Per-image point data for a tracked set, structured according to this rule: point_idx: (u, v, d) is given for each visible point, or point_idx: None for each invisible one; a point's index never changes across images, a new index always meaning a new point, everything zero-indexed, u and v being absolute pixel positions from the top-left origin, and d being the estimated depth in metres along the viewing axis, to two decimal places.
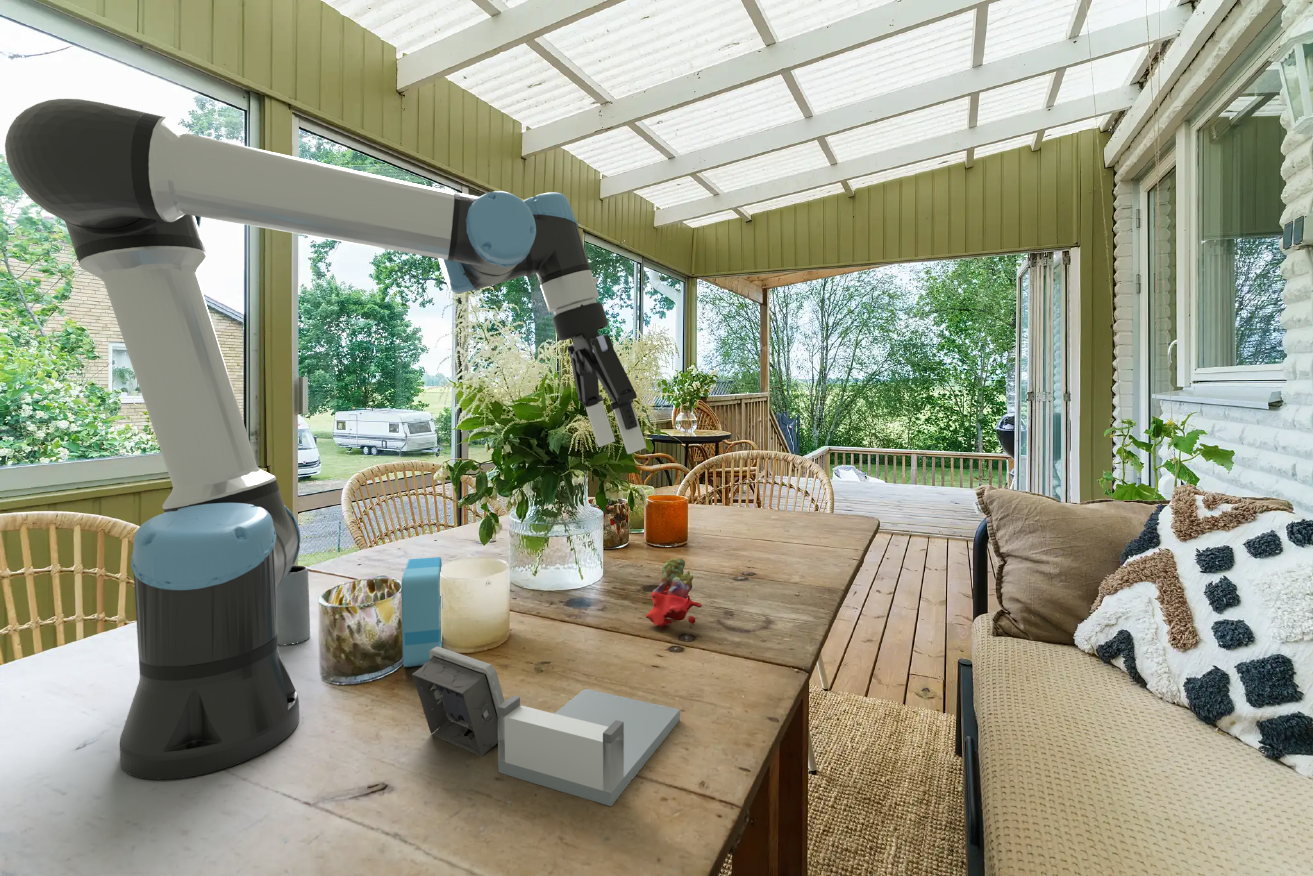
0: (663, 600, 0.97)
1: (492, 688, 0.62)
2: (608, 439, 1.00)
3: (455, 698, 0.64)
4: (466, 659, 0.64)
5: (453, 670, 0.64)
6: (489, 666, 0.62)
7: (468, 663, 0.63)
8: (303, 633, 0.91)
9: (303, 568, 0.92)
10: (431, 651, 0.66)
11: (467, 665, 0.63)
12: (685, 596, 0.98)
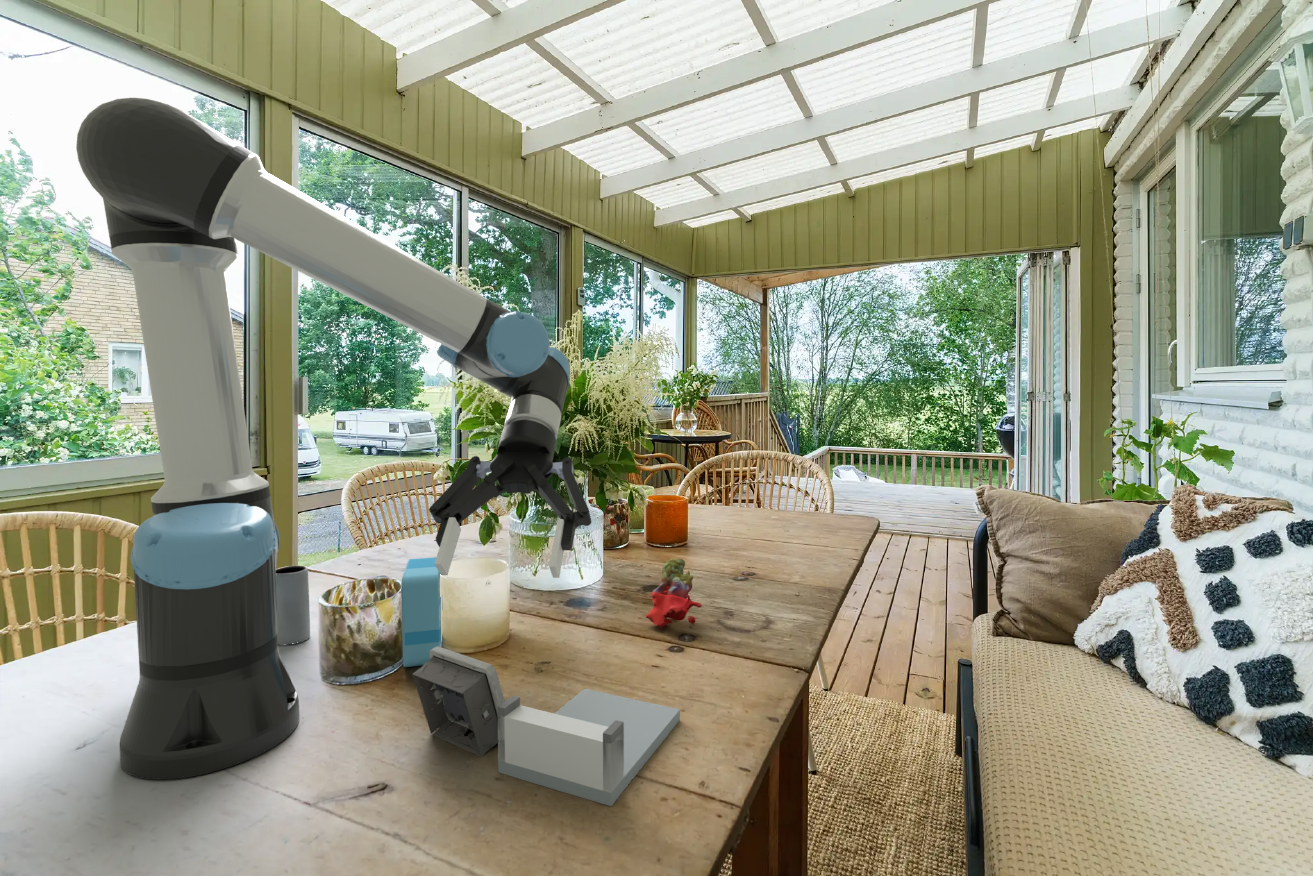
0: (663, 600, 0.97)
1: (492, 688, 0.62)
2: (446, 566, 0.76)
3: (455, 698, 0.64)
4: (466, 659, 0.64)
5: (453, 670, 0.64)
6: (489, 666, 0.62)
7: (468, 663, 0.63)
8: (303, 633, 0.91)
9: (303, 568, 0.92)
10: (431, 651, 0.66)
11: (467, 665, 0.63)
12: (685, 596, 0.98)
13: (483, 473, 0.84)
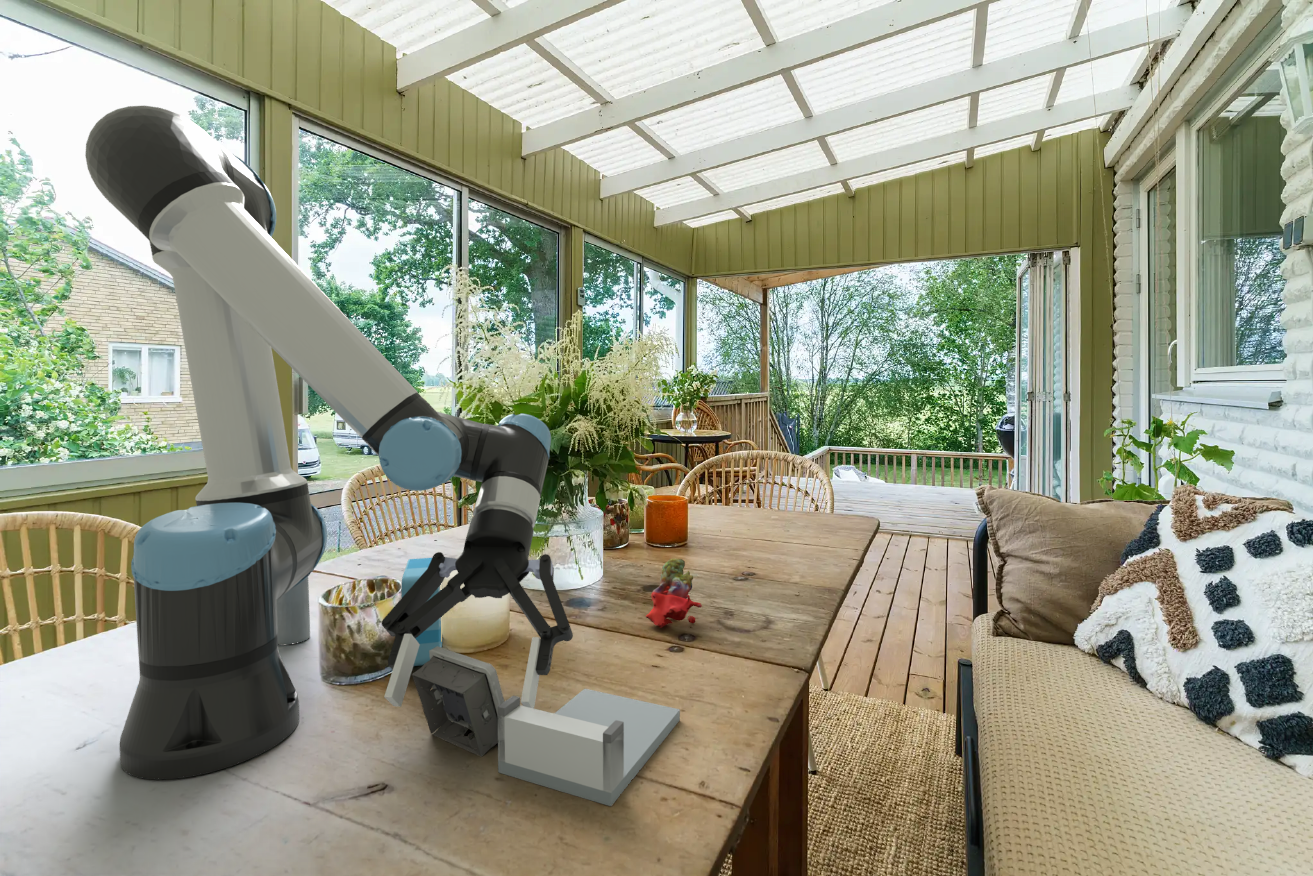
0: (663, 600, 0.97)
1: (492, 688, 0.62)
2: (399, 696, 0.64)
3: (455, 698, 0.64)
4: (466, 659, 0.64)
5: (453, 670, 0.64)
6: (489, 666, 0.62)
7: (468, 663, 0.63)
8: (303, 633, 0.91)
9: None
10: (431, 651, 0.66)
11: (467, 665, 0.63)
12: (685, 596, 0.98)
13: (447, 572, 0.73)
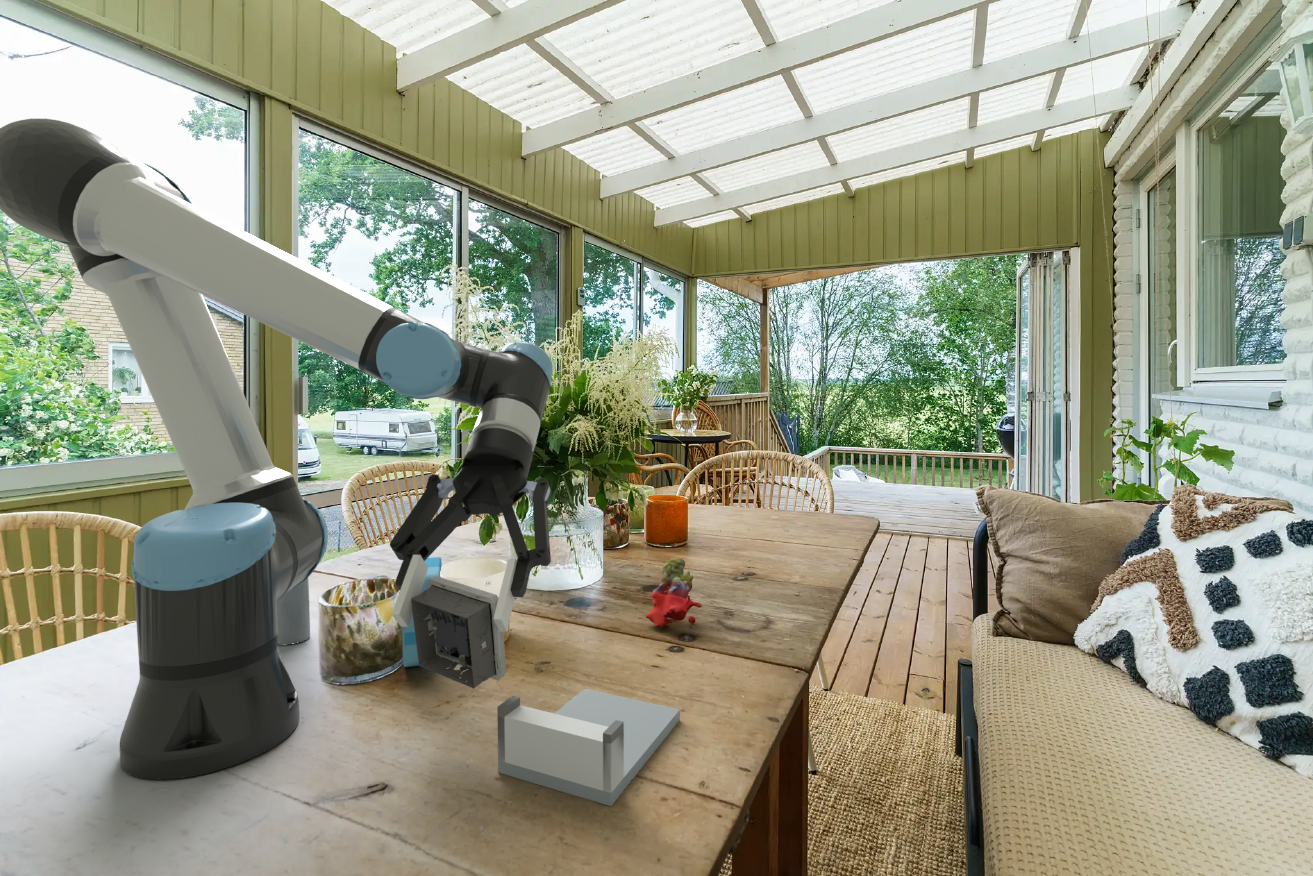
0: (663, 600, 0.97)
1: None
2: (407, 616, 0.62)
3: (452, 628, 0.63)
4: (469, 589, 0.63)
5: (455, 598, 0.63)
6: (494, 596, 0.62)
7: (472, 592, 0.62)
8: (303, 633, 0.91)
9: None
10: (431, 580, 0.65)
11: (470, 594, 0.62)
12: (685, 596, 0.98)
13: (446, 493, 0.71)
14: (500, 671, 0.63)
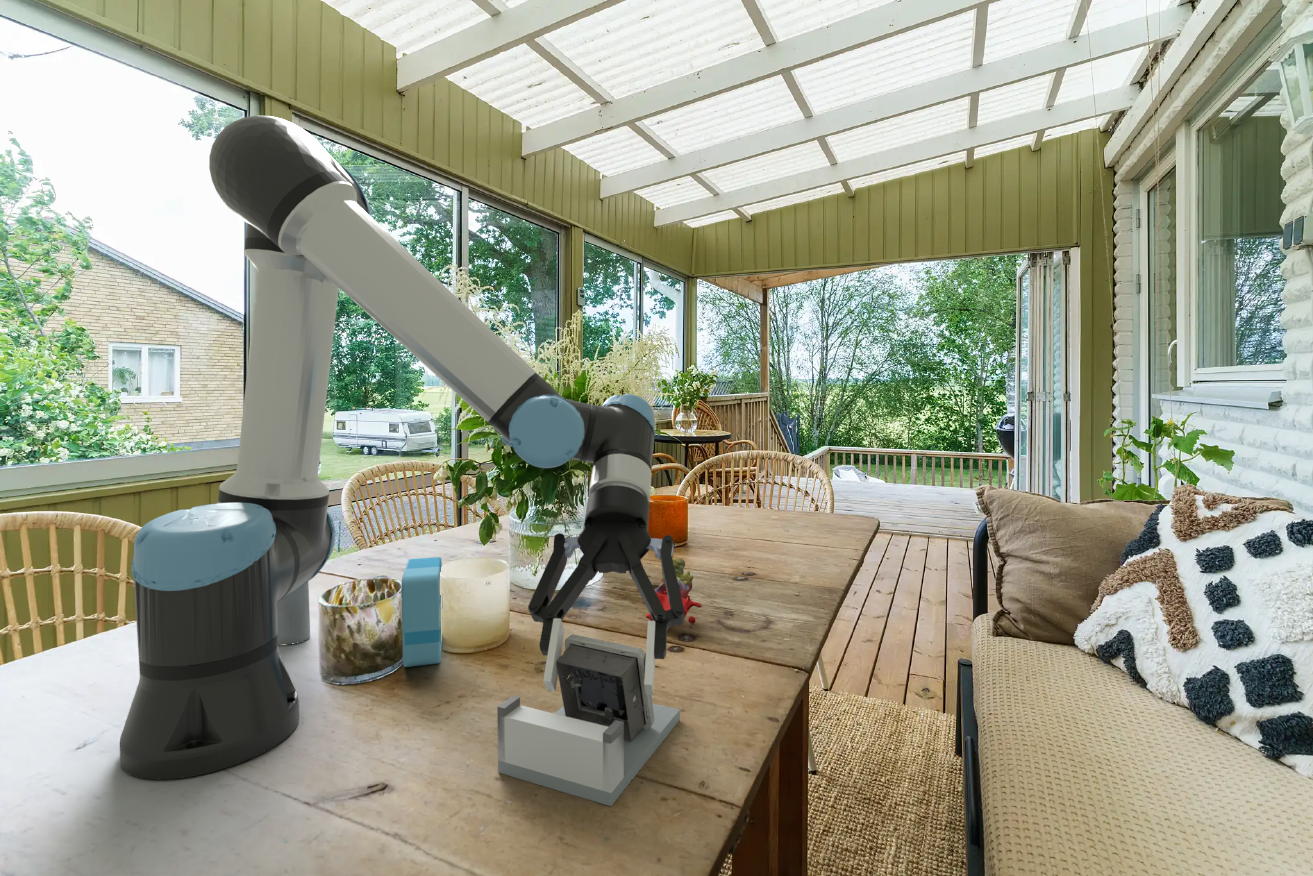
0: (663, 600, 0.97)
1: (642, 672, 0.63)
2: (554, 681, 0.63)
3: (598, 685, 0.64)
4: (612, 645, 0.64)
5: (599, 656, 0.64)
6: (640, 650, 0.63)
7: (616, 648, 0.63)
8: (303, 633, 0.91)
9: None
10: (568, 639, 0.66)
11: (614, 650, 0.64)
12: (685, 596, 0.97)
13: (572, 551, 0.73)
14: (650, 720, 0.65)
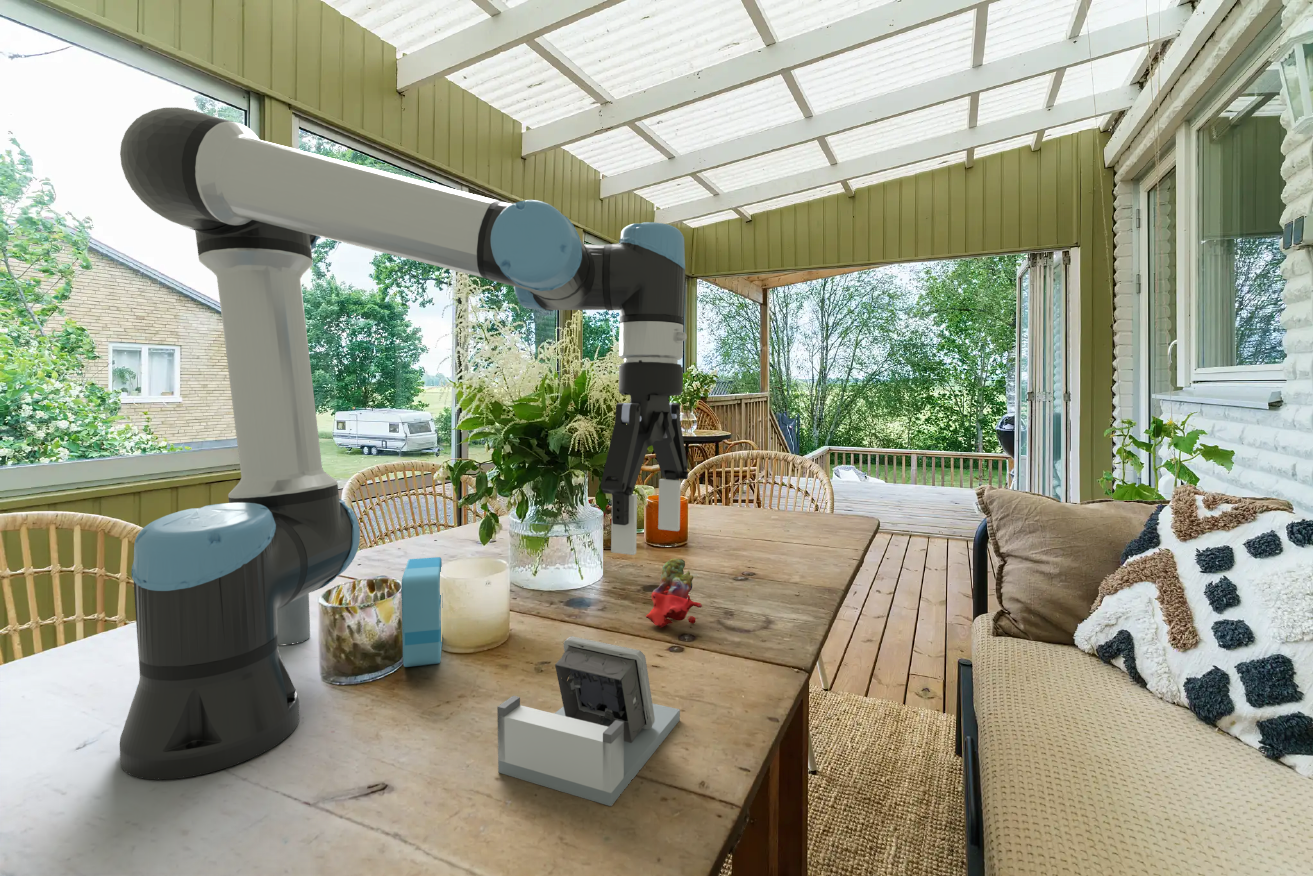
0: (663, 600, 0.97)
1: (641, 674, 0.63)
2: (670, 525, 0.82)
3: (597, 686, 0.64)
4: (611, 647, 0.64)
5: (598, 658, 0.64)
6: (639, 652, 0.63)
7: (615, 650, 0.63)
8: (303, 633, 0.91)
9: None
10: (567, 641, 0.66)
11: (613, 652, 0.63)
12: (685, 596, 0.97)
13: None
14: (650, 721, 0.65)
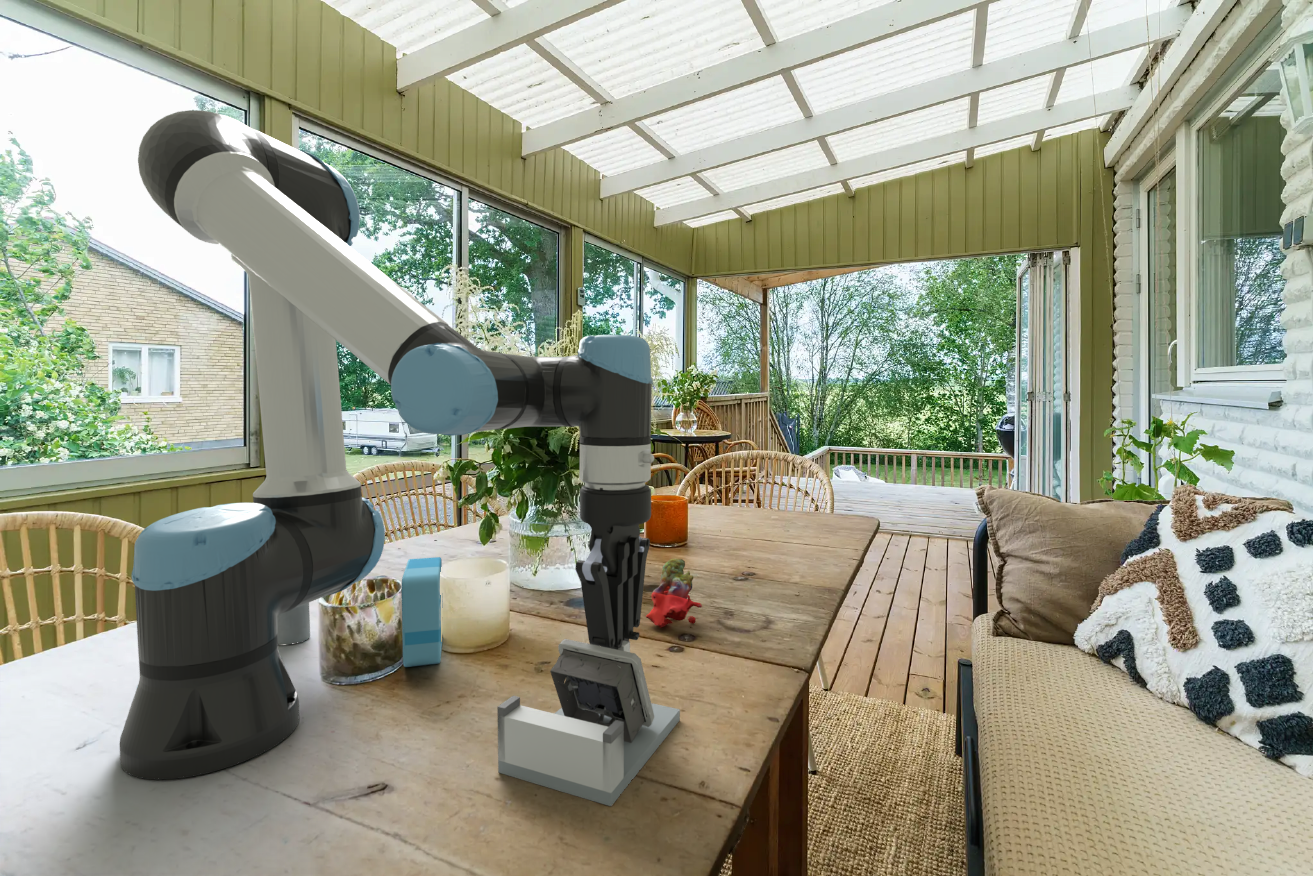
0: (663, 600, 0.97)
1: (638, 676, 0.62)
2: None
3: (595, 689, 0.64)
4: (605, 650, 0.63)
5: (593, 662, 0.63)
6: (634, 655, 0.62)
7: (609, 654, 0.62)
8: (303, 633, 0.91)
9: None
10: (561, 645, 0.65)
11: (608, 656, 0.62)
12: (685, 596, 0.97)
13: None
14: (650, 719, 0.64)
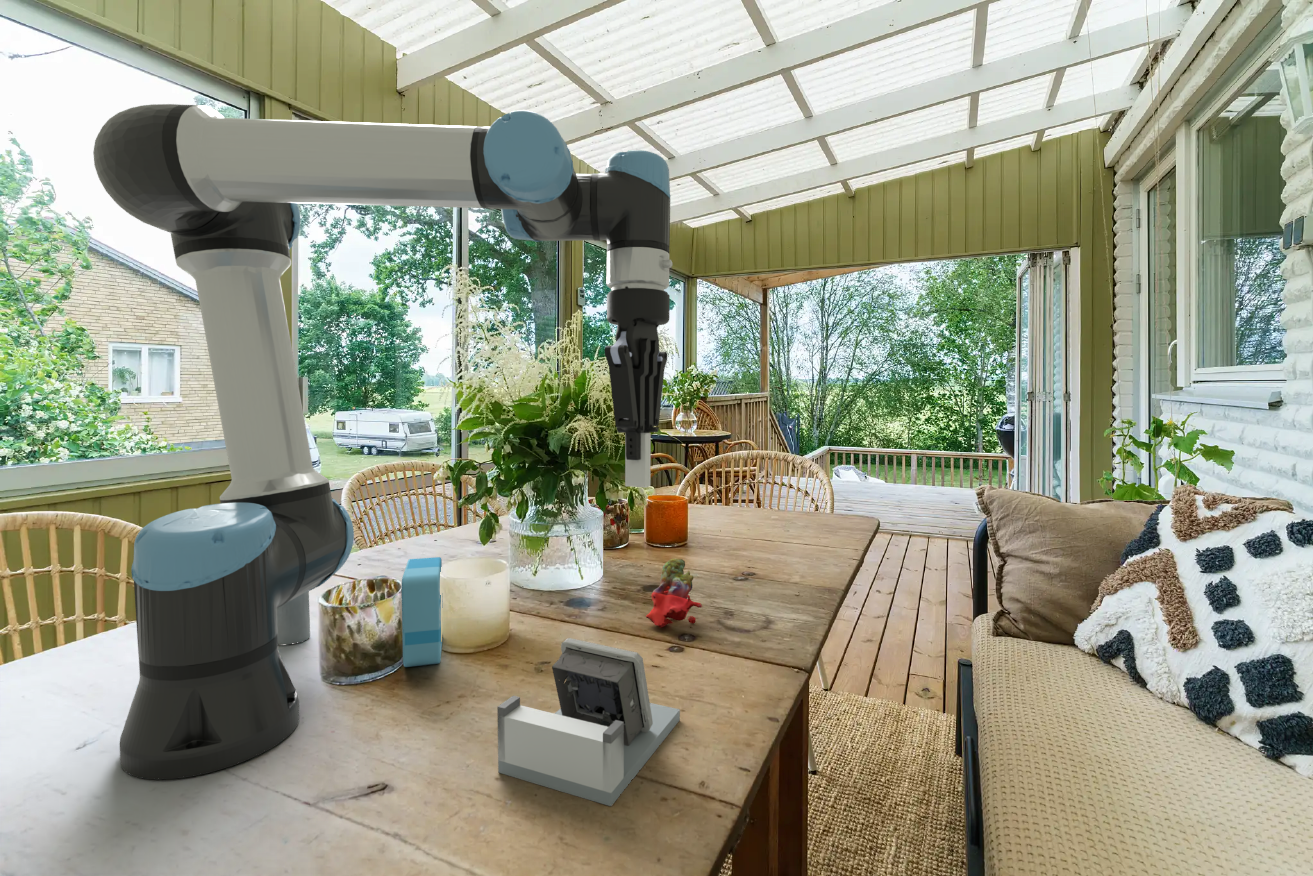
0: (663, 600, 0.97)
1: (639, 676, 0.62)
2: None
3: (595, 689, 0.64)
4: (608, 649, 0.63)
5: (595, 660, 0.63)
6: (636, 654, 0.62)
7: (612, 652, 0.63)
8: (303, 633, 0.91)
9: None
10: (564, 643, 0.65)
11: (610, 655, 0.63)
12: (685, 596, 0.97)
13: None
14: (648, 724, 0.64)
